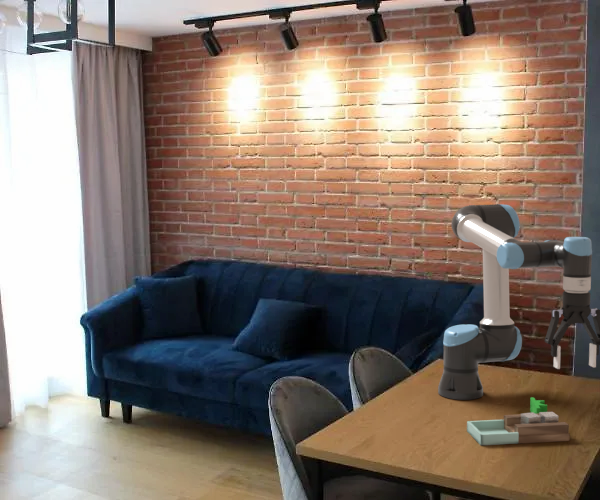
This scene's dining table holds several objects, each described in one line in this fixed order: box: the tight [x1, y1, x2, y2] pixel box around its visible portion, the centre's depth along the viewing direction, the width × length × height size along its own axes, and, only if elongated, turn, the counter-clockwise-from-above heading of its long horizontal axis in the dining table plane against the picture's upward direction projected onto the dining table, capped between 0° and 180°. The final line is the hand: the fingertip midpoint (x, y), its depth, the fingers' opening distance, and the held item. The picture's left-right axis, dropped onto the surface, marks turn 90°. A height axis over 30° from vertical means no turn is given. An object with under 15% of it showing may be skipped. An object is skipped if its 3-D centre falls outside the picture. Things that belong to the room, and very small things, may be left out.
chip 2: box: [539, 411, 559, 423], centre depth 226 cm, size 4×4×4 cm
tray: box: [466, 419, 519, 446], centre depth 225 cm, size 12×11×3 cm
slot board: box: [503, 413, 570, 444], centre depth 226 cm, size 12×15×4 cm
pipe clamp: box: [529, 396, 548, 414], centre depth 243 cm, size 11×4×5 cm, turn 173°
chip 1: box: [520, 411, 541, 424], centre depth 226 cm, size 4×4×4 cm
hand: (574, 366), depth 225 cm, fingers open, 10 cm apart
